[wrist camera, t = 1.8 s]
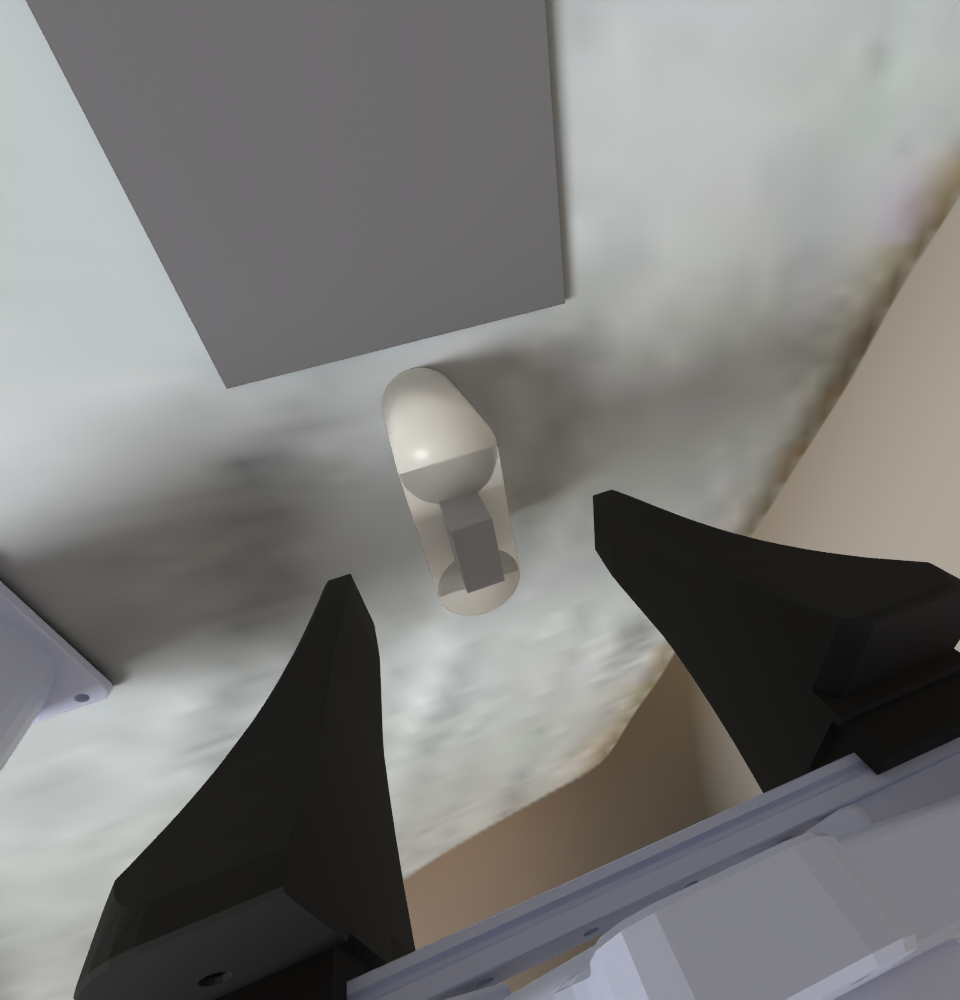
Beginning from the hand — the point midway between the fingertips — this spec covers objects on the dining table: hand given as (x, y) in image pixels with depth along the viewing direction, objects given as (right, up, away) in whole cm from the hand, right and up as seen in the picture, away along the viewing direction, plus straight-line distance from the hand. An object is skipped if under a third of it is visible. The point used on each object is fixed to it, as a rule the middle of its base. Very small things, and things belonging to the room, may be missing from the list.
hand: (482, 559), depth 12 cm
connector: (-2, +3, +6) cm, 7 cm away
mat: (-4, +11, 0) cm, 12 cm away
